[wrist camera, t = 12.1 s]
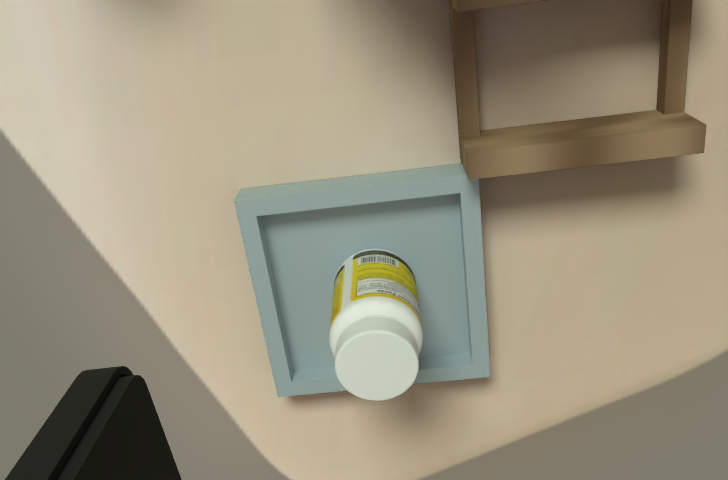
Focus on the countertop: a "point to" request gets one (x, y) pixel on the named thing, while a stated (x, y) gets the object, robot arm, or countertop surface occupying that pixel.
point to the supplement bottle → (375, 325)
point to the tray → (359, 232)
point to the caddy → (582, 136)
